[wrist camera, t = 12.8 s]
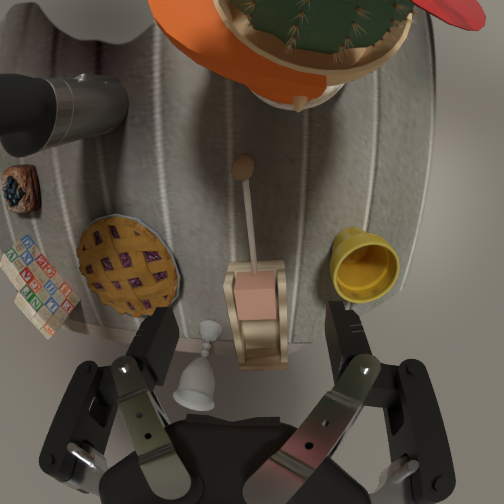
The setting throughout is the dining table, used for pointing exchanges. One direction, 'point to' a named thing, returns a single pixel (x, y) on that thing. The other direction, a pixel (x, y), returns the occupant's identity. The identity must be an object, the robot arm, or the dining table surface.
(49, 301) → the stack of blocks
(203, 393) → the chalice
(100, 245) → the pie
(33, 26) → the dining table surface
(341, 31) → the potted cactus
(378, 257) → the plant pot
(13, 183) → the pastry
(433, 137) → the dining table surface
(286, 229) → the dining table surface
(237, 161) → the pull block
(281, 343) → the light wooden box
